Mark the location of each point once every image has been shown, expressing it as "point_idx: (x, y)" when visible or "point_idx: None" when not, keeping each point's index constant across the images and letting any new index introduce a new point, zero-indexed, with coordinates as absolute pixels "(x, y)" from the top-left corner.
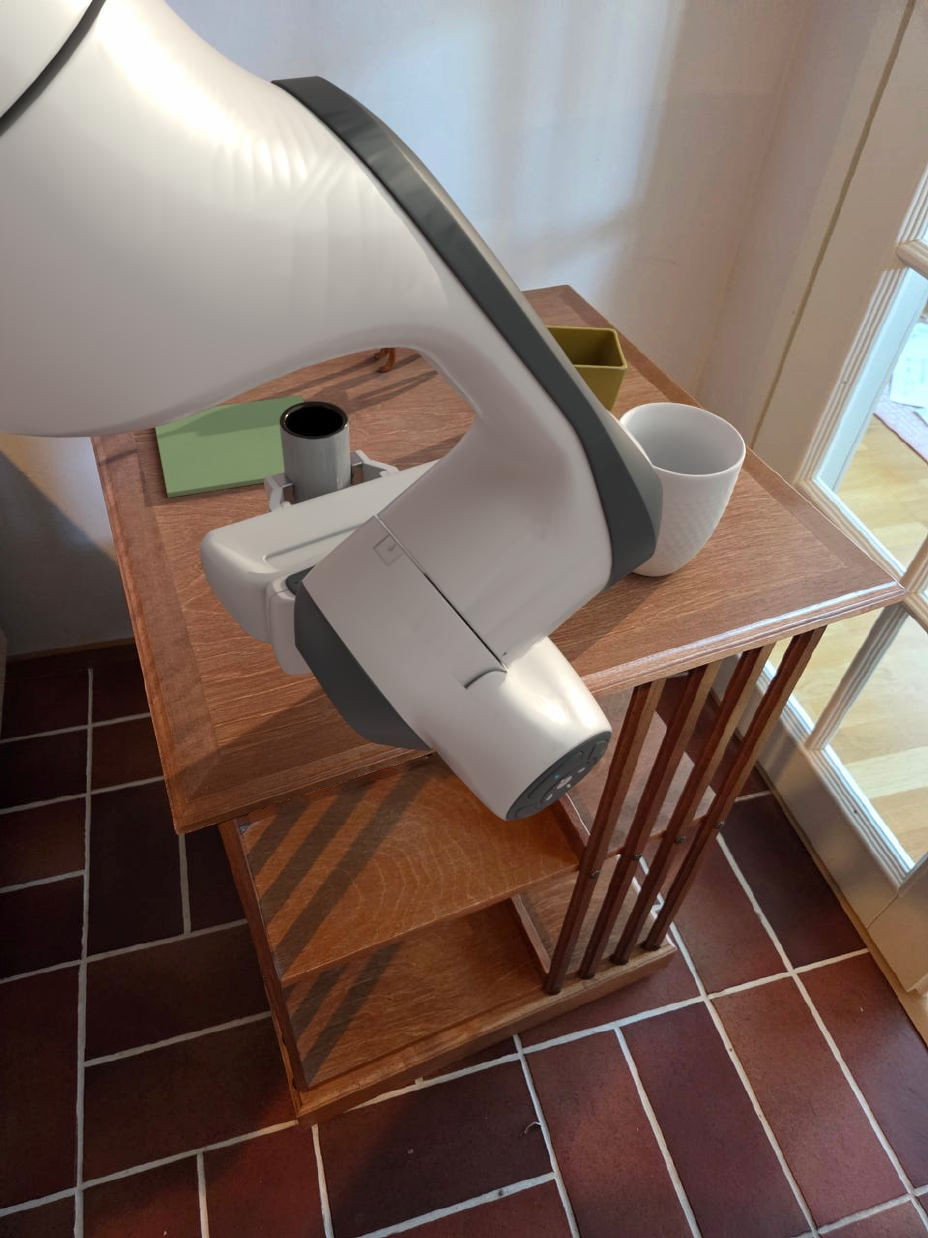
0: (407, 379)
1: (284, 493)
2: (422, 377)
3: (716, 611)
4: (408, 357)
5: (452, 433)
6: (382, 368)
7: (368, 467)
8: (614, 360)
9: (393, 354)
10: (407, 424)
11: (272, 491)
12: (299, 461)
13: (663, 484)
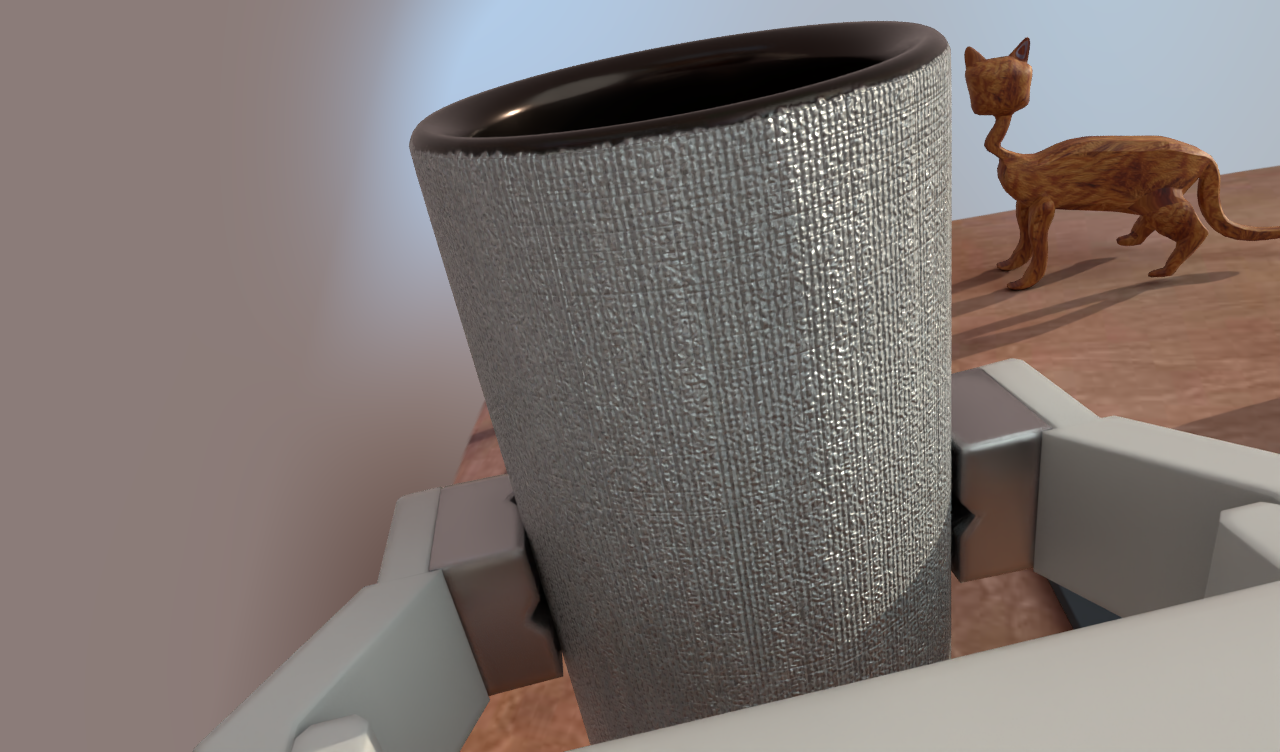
0: (1074, 300)
1: (469, 612)
2: (1110, 296)
3: None
4: (1072, 266)
5: (1218, 404)
6: (1017, 284)
7: (1090, 468)
8: None
9: (1043, 253)
10: (1086, 383)
11: (352, 600)
12: (512, 386)
13: None
